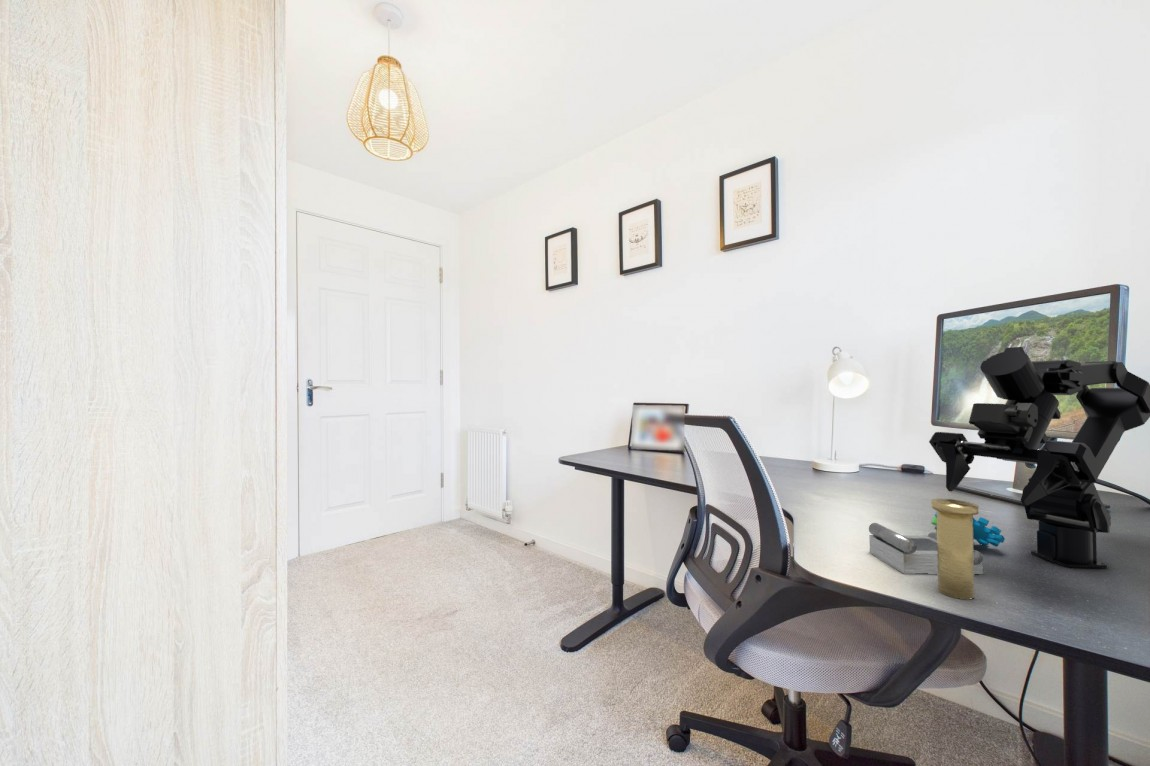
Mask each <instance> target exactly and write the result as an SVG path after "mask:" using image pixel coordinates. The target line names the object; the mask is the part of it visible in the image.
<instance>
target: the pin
mask: <svg viewBox="0 0 1150 766" xmlns="http://www.w3.org/2000/svg"><path fill="white" fill-rule="evenodd" d="M930 502H931V503H930V505H931V508H932V509H934V510H935V511H936V512H937V561H938V574H937V590H939V591H938V592H939V593H941V594H943V595H945V596H947V597H951V598H954V599H958V598H960V599H959V600H964V599H970V598H974V599H975V575H974V550H975V549H974V540H973V518H974V516H975V515H978V514H979V511H980V510H979V505H978V504H976V503H975V502H970V501H966V500H960V499H953V498H932V499H931V501H930Z"/></svg>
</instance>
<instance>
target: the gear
mask: <svg viewBox="0 0 1150 766" xmlns="http://www.w3.org/2000/svg"><path fill="white" fill-rule="evenodd" d="M989 522H990V520H988V519H986V518H985V517H981V516H980V517H979V518H978V520H976V519H975V518H974V517H973V541H974V540H975V541H976V542H977V543H978V544H979V545H980V544H982V545H981V546H983V545H985V546H984V547H988V546H989V544H990V545H992V547H996V548H997V547H998V546H999V545H1000V543H1002V544H1003V543H1004V542H1005V540H1006V539H1005V537H1004V535H1002V534H1001V532H1002V530H1001V529H1000V528H999V527H997V526H995V525H993V526H991V528H990V527H986V526H988V525H989ZM931 524H932V525H933V526H934V530H935V532H934V533H937V511H936V512H935V514H934V517H933V519H932V520H931Z"/></svg>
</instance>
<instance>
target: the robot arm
mask: <svg viewBox="0 0 1150 766" xmlns="http://www.w3.org/2000/svg"><path fill="white" fill-rule="evenodd" d="M979 368H980V371H981V372H982V374H983V377H985V379H986V381H987V382H988V384H989V386H990V387H991V389H992V391H993V392H994V393H995V395H996V397H997V398H999V399H1003V400H1006V402H1005V403H982V402H981V403H978V402H977V403H973V404H972V408H971V412H970V416H969V419H968V424H969V425H973V426H975V428H977V429H978V432H977V435H978V437H979V439H980V440H981V439H983V440H984V442H976V441H968V439H967V438H966V436H965V435H964V433H959V432H958V433H957V432H950V431H949V432H946V431H935V432H934V433H933V434H932V436H931V437H930V439H929V441H928V443H929V444H930V446H931V447H932V448H933V450H934V452H935V453H936V454H937V456H938V457H939V458H940V460H941V462H943V463H945V471H946V472H945V488H946V489H947V491H948V492H953V491H954V490H955V489H956V488H957V487H958V486H959V484H961V482H962V481H963V480H964V478H965V477H966V476H967V474H968V472H969V471H970V470H971V467H970V466H969V465H971V464H973V461H974V460H975V457H976V456H977V457H984V458H994V459H996V460H1002V461H1007V462H1014V463H1015V462H1016V463H1023V464H1031V465H1033V464H1034V465H1036V469H1035V470H1034V471H1033V474H1032V475H1031V477H1029V478H1028V482H1027V483H1026V485H1025V486H1024V487H1023V488H1022V493H1021V494H1022V495H1021V498H1020V503H1021V504H1022V505H1023V506H1024V511H1025V516H1026V518H1027V520H1035V521H1038V529H1037V531H1036V549H1030V554H1032V555H1035V556H1038V557H1040V558H1043V559H1046V560H1048V561H1050V562H1053V563H1055V564H1058V565H1060V566H1063V567H1067V568H1095V569H1096V568H1098V569H1099V568H1107V569H1108V568H1109V565H1108V564H1107V563H1104V562H1101V561H1098V558H1097V557H1098V555H1097V552H1098V551H1097V548H1098V547H1097V534H1098V533H1104V534H1105V533H1106V534H1109V533H1110V532H1111V531H1110V528H1111V525H1112V522H1111V520H1112V517H1111V515H1110V513H1109V511H1108V509H1107V508H1106V506H1105V504H1104V503H1103V501H1102V499H1101V497H1100V494H1099V492H1098V489H1097V487H1096V485H1095V483H1096V482H1097V481H1098V479H1099V476H1100V474H1101V473H1102V470H1103V469H1104V467H1105V466H1106V464H1107V463H1108V460H1109V459H1110V457H1111V456H1112V454H1113V452H1114V450H1115V448H1116V447H1117V445H1118V443H1119V442H1120V439H1121V438H1122V436H1123V434H1124V433H1125V432H1127V431H1131V430H1133V429H1136V428H1138V427H1141V426H1144V425H1145V424H1146V422H1147V421H1148V420H1149V419H1150V383H1149V381H1147V380H1145V379H1143V378H1141V377H1140V376H1138V375H1136V374H1134V373H1132V372H1129V371H1128V369H1127V368H1126V365H1125V363H1123V362H1121V361H1116V360H1105V361H1086V362H1085V361H1084V362H1083V363H1081V362H1079V361H1076V360H1072V359H1061V360H1060V359H1058V360H1057V359H1055V360H1038V361H1037V360H1034V361H1032V360H1031V358H1030V356H1029V355H1028V354H1027V353H1026V352H1025V349H1024V348H1023V346H1015V347H1013V346H1011V347H1010V346H1009V347H1005V349H1004V351H1001V352H999V353H995V354H993V355H991V356H990V357H988V358H986V359H985V360H983V361H982V362H981V363H980V366H979ZM1099 384H1100V385H1103V384H1116V386H1117V387H1091V388H1089V387H1088V386H1092V385H1099ZM1075 394H1076V395H1075ZM1073 395H1075V397H1076V399H1077V401H1078V403H1079V404H1080V406H1081V407H1082V409H1083V411H1084V414H1085V417H1086V419H1085V420H1084V422H1083V423H1082V425H1081V426H1080V428H1079V430H1078V432H1077V433H1076V435H1075V436H1074V438H1073V440H1072V441H1063V440H1061V441H1060V440H1059V441H1058V440H1049V438H1048V436H1047V435H1046V432H1047V430H1048V428H1049V425H1050V424H1051V421H1052V420H1060V419H1061V412H1060V410H1059V408H1058V407H1059V406H1060V402H1059V400H1058V398H1057V397H1056V396H1073ZM1040 444H1044V449H1045V450H1043V449H1038V448H1039V446H1040Z"/></svg>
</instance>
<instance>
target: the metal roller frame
mask: <svg viewBox="0 0 1150 766" xmlns="http://www.w3.org/2000/svg"><path fill="white" fill-rule="evenodd" d="M868 531H869V533H870V534H869V554H871V555H872V556H874V557H876V558H877V559H879V560H880V561H882V562H884V564H887V565H888V566H890V567H891V568H893V569H895V570H897V571H898V572H900V573H901V574H903V575H916V574H915V573H928V574H927V575H938V561H937V533H935V532H930V533H928V535H904V534H903V535H901V534H900V533H898V532H896V531H894V530H891V529H890V528H887V527H885V526H884V525H881V524H879V523H878V522H873V523H870V524H869V526H868ZM983 560H984V556H983V554H982V552H980V551H978V550H975V549H974V574H984V571H983V570H984V569H983V568H984V567H983V564H982V563H983Z"/></svg>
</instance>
